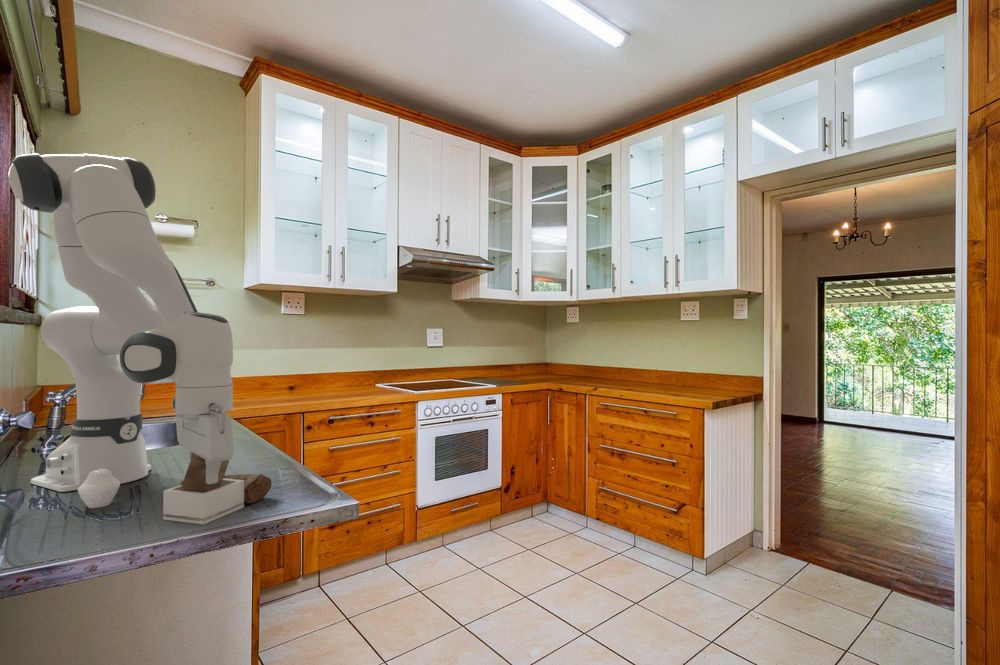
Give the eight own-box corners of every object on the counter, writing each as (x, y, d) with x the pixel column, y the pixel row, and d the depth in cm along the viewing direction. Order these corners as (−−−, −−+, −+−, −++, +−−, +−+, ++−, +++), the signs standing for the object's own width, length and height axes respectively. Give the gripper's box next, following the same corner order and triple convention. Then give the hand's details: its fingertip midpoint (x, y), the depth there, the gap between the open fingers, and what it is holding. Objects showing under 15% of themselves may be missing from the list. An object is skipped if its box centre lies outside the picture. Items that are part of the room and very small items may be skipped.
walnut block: (180, 490, 84) (196, 444, 86) (193, 488, 88) (208, 444, 90) (206, 495, 84) (222, 449, 86) (218, 492, 88) (232, 449, 90)
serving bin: (163, 519, 84) (163, 490, 84) (206, 503, 92) (206, 476, 92) (203, 524, 81) (203, 494, 81) (244, 507, 90) (244, 480, 90)
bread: (250, 509, 89) (251, 479, 90) (170, 500, 94) (170, 472, 95) (275, 498, 96) (275, 470, 96) (198, 491, 101) (198, 464, 101)
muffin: (73, 506, 90) (73, 469, 90) (113, 498, 95) (113, 462, 95) (83, 513, 87) (84, 474, 87) (124, 504, 92) (125, 467, 92)
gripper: (244, 405, 82) (243, 486, 82) (207, 396, 96) (206, 465, 96) (202, 408, 78) (201, 495, 77) (169, 398, 92) (169, 471, 91)
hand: (204, 478), depth 87 cm, fingers closed on walnut block, 6 cm apart
